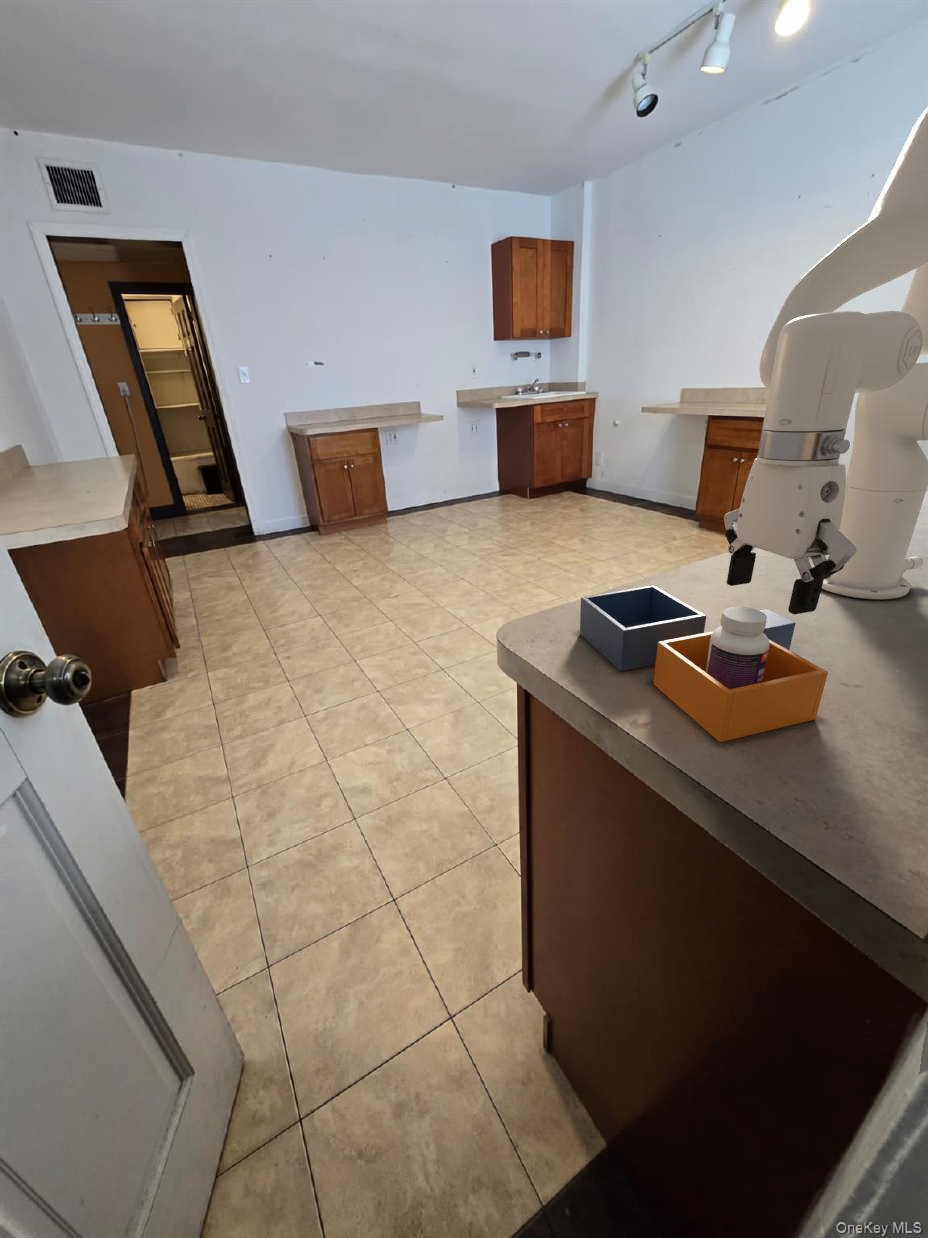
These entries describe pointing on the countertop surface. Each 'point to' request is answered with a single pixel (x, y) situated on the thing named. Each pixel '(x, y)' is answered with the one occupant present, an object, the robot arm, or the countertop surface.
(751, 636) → the pill bottle
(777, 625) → the blue block
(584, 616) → the blue bin
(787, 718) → the amber bin
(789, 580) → the countertop surface
